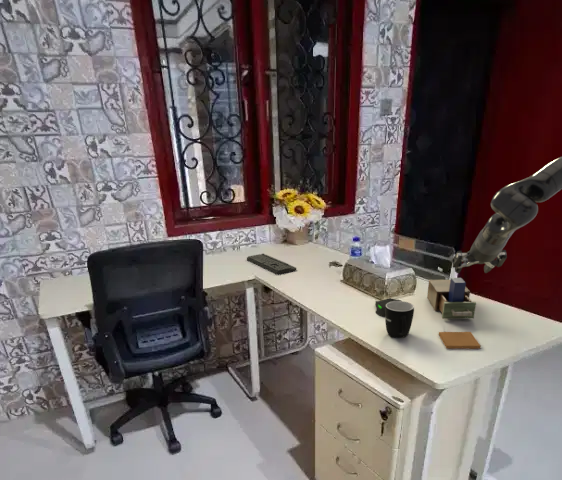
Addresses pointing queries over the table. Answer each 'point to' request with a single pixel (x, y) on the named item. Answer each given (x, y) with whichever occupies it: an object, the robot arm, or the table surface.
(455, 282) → the card box
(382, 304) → the black electronic device
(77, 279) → the table surface
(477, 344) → the cork pad
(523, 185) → the robot arm
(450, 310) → the drawer
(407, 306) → the mug
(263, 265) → the keyboard
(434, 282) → the cabinet
